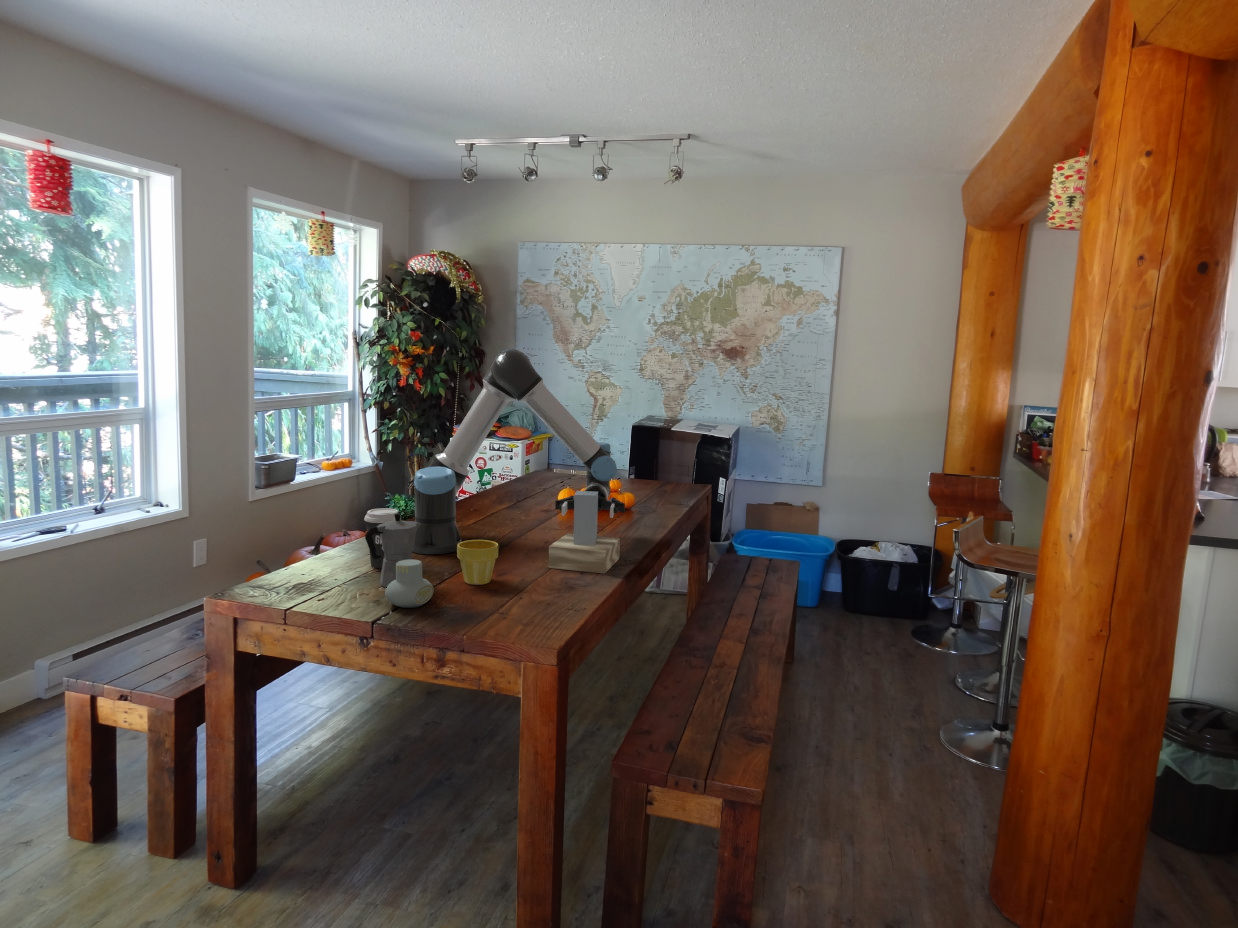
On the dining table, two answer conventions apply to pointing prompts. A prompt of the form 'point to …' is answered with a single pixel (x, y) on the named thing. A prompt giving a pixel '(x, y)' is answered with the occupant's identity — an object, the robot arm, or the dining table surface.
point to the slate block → (585, 517)
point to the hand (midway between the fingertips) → (587, 512)
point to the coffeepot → (393, 545)
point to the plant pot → (477, 560)
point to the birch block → (584, 554)
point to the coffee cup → (375, 519)
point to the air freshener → (409, 585)
